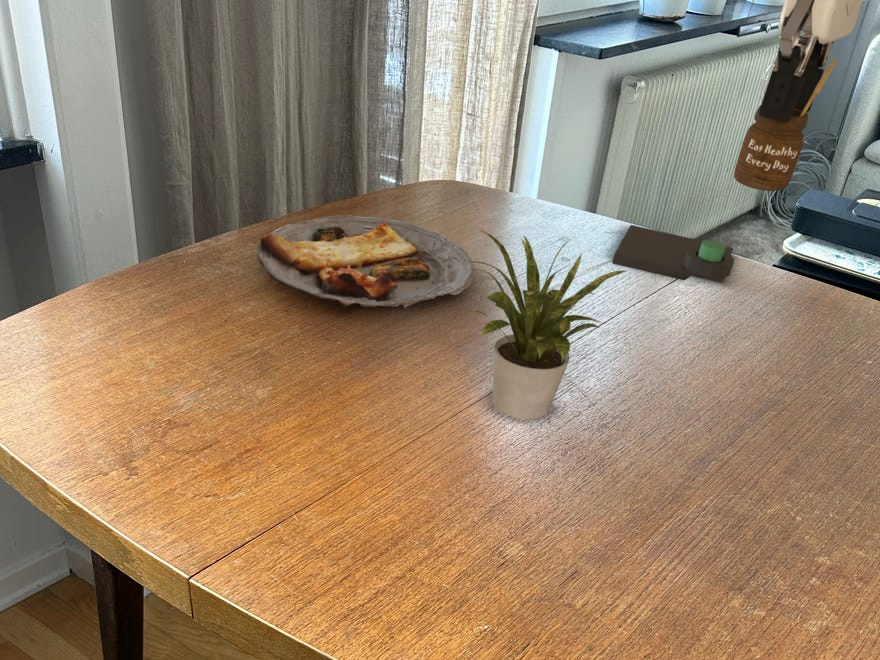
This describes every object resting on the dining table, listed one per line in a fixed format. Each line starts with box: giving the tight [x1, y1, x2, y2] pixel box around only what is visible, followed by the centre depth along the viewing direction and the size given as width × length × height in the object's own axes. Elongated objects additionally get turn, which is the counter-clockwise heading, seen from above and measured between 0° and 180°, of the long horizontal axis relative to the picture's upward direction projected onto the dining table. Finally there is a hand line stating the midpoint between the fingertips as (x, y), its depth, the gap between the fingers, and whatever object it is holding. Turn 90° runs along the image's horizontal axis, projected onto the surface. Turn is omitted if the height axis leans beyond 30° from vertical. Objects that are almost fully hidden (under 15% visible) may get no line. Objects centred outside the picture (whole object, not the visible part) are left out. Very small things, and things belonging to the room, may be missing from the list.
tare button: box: [698, 239, 727, 262], centre depth 119 cm, size 3×3×2 cm
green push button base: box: [611, 224, 735, 284], centre depth 123 cm, size 14×13×3 cm
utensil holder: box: [733, 57, 837, 192], centre depth 97 cm, size 6×6×12 cm
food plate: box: [256, 214, 474, 309], centre depth 110 cm, size 25×23×4 cm
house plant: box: [467, 227, 627, 420], centre depth 86 cm, size 14×14×16 cm
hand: (784, 112), depth 97 cm, fingers closed on utensil holder, 5 cm apart
